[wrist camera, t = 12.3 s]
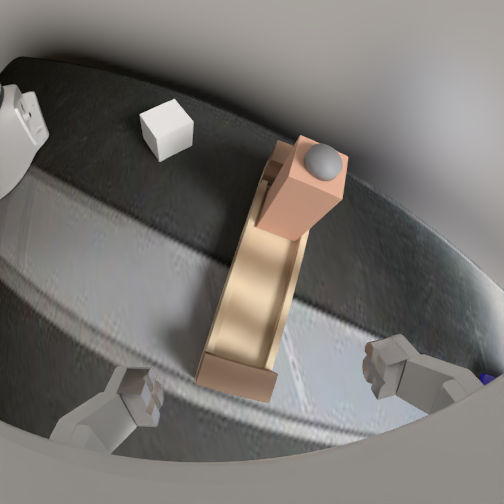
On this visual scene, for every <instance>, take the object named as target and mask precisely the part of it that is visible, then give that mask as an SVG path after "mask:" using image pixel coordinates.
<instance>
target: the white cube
mask: <svg viewBox="0 0 504 504" xmlns="http://www.w3.org/2000/svg"><path fill="white" fill-rule="evenodd" d="M139 115H140V121H141V127H142V132H143V138H144V140H145V141H146V143H147V144H148V146H149V147H150V149H151V150H152V152H153V153H154V155H155V156H156V158H157V159H158V161H159V162H161V161H162V160H164V159H166V158H168V157H170V156H172V155H174V154H176V153H178V152H180V151H182V150H184V149H186V148H188V147H190V146H192V139H193V121H192V119H191V118H190V117H189V116H188V115H187V113H186V112H185V111H184V110H183V109H182V107H181V106H180V105H179V104H178V103H177V102H176V100H175V99H173V100H171V101H169V102H166V103H164V104H161V105H159V106H157V107H155V108H152V109H150V110H148V111H146V112H144V113H141V114H139Z"/></svg>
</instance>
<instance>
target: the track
mask: <svg viewBox="0 0 504 504" xmlns="http://www.w3.org/2000/svg"><path fill="white" fill-rule="evenodd" d="M293 147H294V146H292V145H290V144H287V143H285V142H282V141H279V140H278V141H277V143H276V145H275V147H274V149H273V151H272V153H271V155H270V158H269V160H268V161H267V163H266V165H265V167H264V170H263V173H262V176H261V179H260V181H259V184H258V187H257V190H256V193H255V196H254V199H253V202H252V205H251V208H250V210H249V213H248V216H247V219H246V222H245V225H244V228H243V231H242V234H241V237H240V240H239V243H238V246H237V249H236V252H235V255H234V258H233V261H232V264H231V267H230V270H229V273H228V276H227V279H226V282H225V285H224V288H223V291H222V294H221V297H220V300H219V303H218V306H217V309H216V312H215V315H214V318H213V321H212V325H211V328H210V331H209V334H208V337H207V340H206V343H205V346H204V350H203V353H202V356H201V359H200V362H199V365H198V369H197V372H196V375H195V378H194V382H196V384H197V385H201V386H204V387H207V388H211V389H214V390H218V391H221V392H225V393H228V394H232V395H236V396H240V397H244V398H248V399H253V400H257V401H261V402H266V403H269V401H270V398H271V395H272V392H273V389H274V386H275V382H276V379H277V376H278V374H277V373H275V372H273V371H271V370H272V367H273V364H274V361H275V357H276V354H277V351H278V347H279V344H280V340H281V337H282V333H283V330H284V326H285V323H286V319H287V316H288V312H289V308H290V305H291V301H292V297H293V293H294V290H295V286H296V282H297V278H298V274H299V270H300V266H301V262H302V258H303V254H304V250H305V246H306V242H307V238H308V233H309V230H308V231H306V232H305V233H304V234H303V235H302V236H301V237H300V238H299V239H297V240H296V241H292V240H289V239H287V238H284V237H281V236H279V235H276V234H273V233H270V232H268V231H265V230H262V229H260V228H257V224H258V221H259V218H260V215H261V212H262V209H263V206H264V203H265V199H266V196H267V193H268V191H269V190H270V188H271V186H272V184H273V182H274V181H275V179H276V177H277V175H278V173H279V172H280V170H281V168H282V166H283V165H284V163H285V161H286V159H287V158H288V156H289V154H290V152H291V150H292V149H293Z"/></svg>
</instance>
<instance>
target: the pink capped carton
mask: <svg viewBox="0 0 504 504" xmlns="http://www.w3.org/2000/svg"><path fill="white" fill-rule="evenodd" d="M347 162H348V157H347V156H346V155H344V154H341V153H339V152H337V151H336V150H334V149H333V148H332V147H330V146H328V145H325V144H320V143H317V142H315V141H313V140H310V139H308V138H306V137H303V136H301V135H300V137H299V138H298V140H297V142H296V143H295V145H294V147H293V149H292V150H291V152H290V154H289V156H288V158H287V159H286V161H285V163H284V165H283V166H282V168H281V170H280V172H279V173H278V175H277V177H276V179H275V181H274V182H273V184H272V186H271V188H270V190H269V191H268V193H267V196H266V199H265V203H264V206H263V209H262V212H261V215H260V218H259V221H258V224H257V228H260V229H262V230H265V231H268V232H270V233H273V234H276V235H279V236H281V237H284V238H287V239H289V240H292V241H296V240H297V239H299V238H300V237H301V236H302V235H303V234H304V233H305V232H306V231H308V230H309V229H310V228H311V227H312V226H313V225H314V224H315V223H316V222H318V221H319V220H320V219H321V218H322V217H323V216H324V215H325V214H327V213H328V212H329V211H330V210H331V209H332V208H333V207H334V206H335V205H336V204H338V203H339V202H340V201H341V200H342V198H343V191H344V184H345V177H346V170H347Z"/></svg>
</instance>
